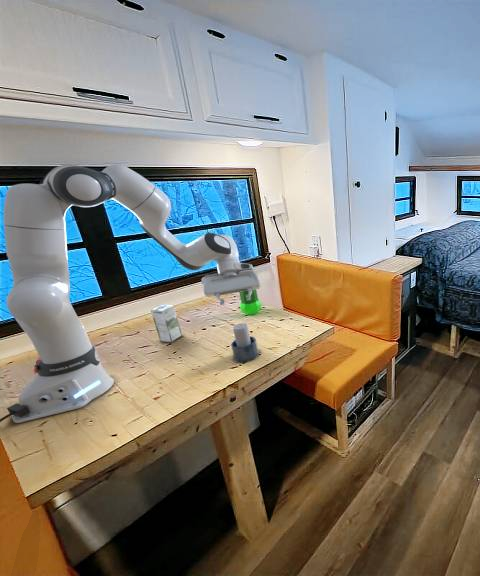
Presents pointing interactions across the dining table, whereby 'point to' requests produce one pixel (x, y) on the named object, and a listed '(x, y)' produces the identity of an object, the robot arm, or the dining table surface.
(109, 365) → the dining table surface
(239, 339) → the beverage can
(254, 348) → the can holder
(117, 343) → the dining table surface
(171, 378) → the dining table surface
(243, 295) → the plastic bottle
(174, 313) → the syrup box
